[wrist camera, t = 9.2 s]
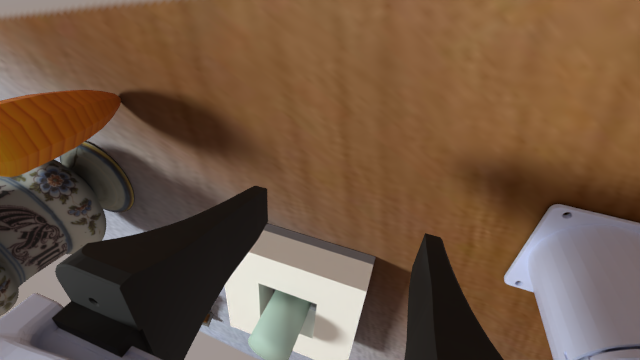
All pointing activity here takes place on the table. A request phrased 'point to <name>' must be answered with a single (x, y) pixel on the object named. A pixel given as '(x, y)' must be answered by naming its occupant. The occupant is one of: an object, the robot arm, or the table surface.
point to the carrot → (49, 126)
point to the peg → (279, 326)
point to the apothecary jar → (56, 213)
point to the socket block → (303, 288)
